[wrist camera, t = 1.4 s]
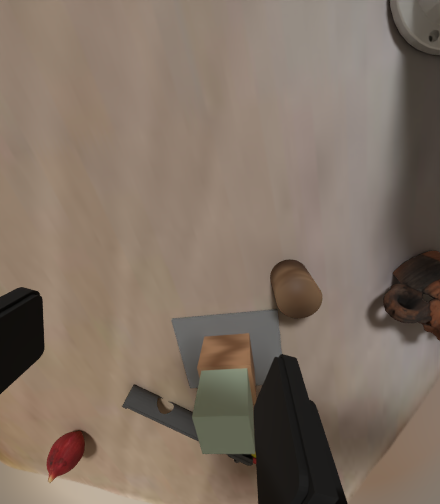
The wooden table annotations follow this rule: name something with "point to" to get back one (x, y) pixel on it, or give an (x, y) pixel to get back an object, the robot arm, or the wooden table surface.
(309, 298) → the dowel
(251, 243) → the wooden table surface
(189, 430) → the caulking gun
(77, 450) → the onion
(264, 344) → the mat
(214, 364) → the tower base
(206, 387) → the tower mid
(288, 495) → the robot arm
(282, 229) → the wooden table surface
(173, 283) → the wooden table surface
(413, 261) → the pottery mug
